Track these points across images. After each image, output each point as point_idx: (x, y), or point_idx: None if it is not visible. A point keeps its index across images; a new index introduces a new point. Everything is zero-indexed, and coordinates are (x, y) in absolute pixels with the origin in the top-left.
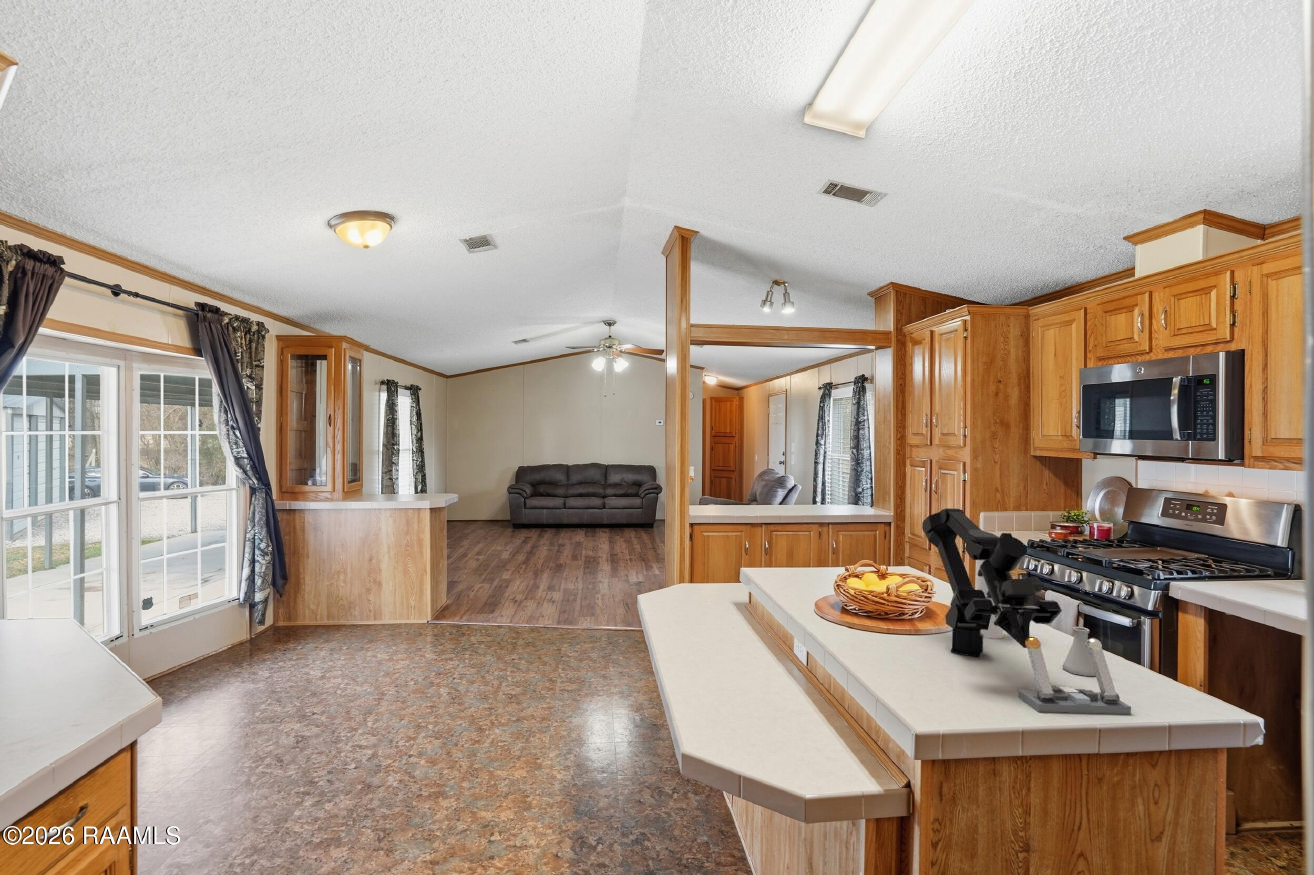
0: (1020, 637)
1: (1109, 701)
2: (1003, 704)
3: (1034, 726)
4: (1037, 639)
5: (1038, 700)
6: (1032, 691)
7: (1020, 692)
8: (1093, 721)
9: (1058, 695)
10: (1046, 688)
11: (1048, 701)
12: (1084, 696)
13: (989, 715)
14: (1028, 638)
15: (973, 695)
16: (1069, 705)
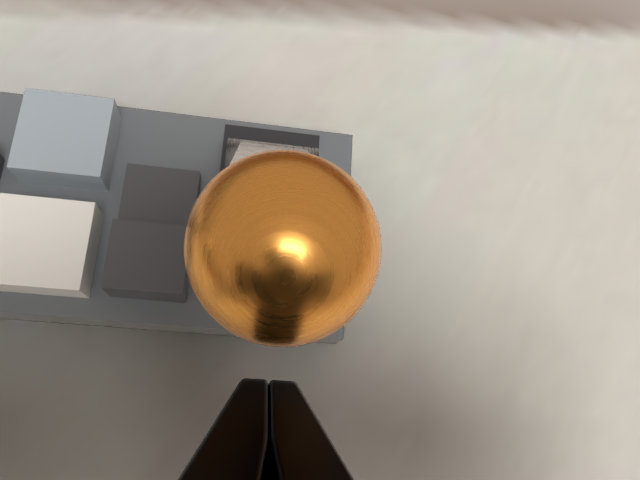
0: (343, 469)
1: None
2: (476, 251)
3: (459, 23)
4: (254, 169)
5: None
6: None
7: None
8: (130, 38)
9: (178, 180)
10: (277, 147)
11: None
12: (34, 119)
13: (604, 135)
14: (363, 232)
15: (585, 377)
16: (175, 114)
